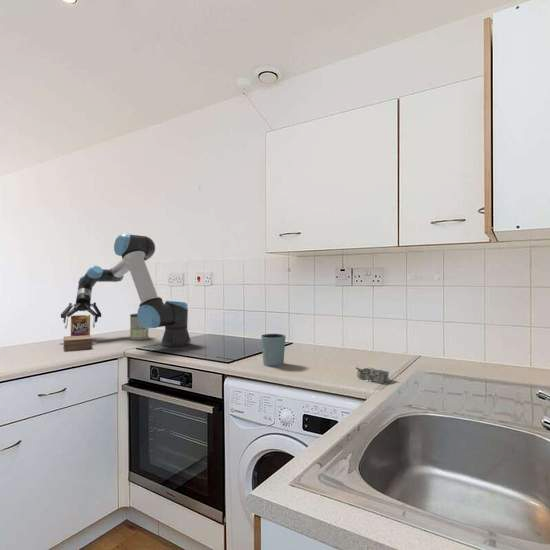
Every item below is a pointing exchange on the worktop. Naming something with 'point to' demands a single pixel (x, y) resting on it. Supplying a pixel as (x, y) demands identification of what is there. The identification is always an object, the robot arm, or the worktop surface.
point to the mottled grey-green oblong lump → (373, 374)
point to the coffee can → (137, 328)
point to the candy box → (80, 325)
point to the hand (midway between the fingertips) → (79, 326)
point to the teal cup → (273, 349)
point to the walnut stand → (77, 342)
